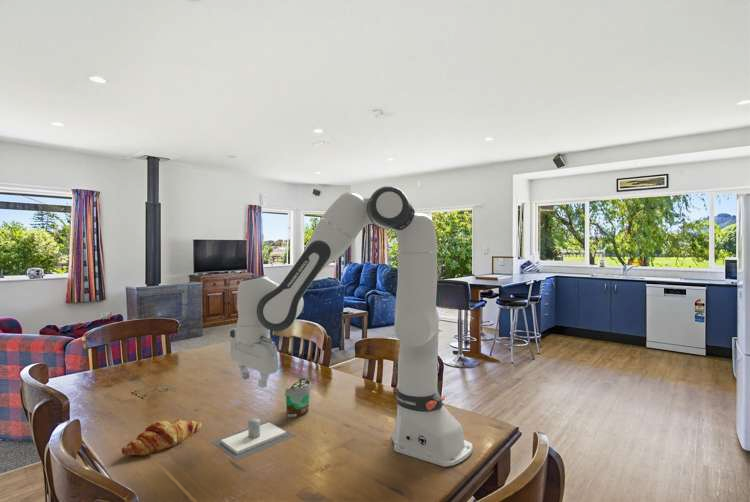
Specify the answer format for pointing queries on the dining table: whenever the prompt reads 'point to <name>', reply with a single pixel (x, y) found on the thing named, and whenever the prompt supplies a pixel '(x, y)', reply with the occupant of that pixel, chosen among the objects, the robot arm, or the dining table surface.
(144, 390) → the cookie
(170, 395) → the dining table surface
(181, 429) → the croissant
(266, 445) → the mat
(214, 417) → the dining table surface
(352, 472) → the dining table surface
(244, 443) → the lid
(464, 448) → the robot arm
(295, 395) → the food container
